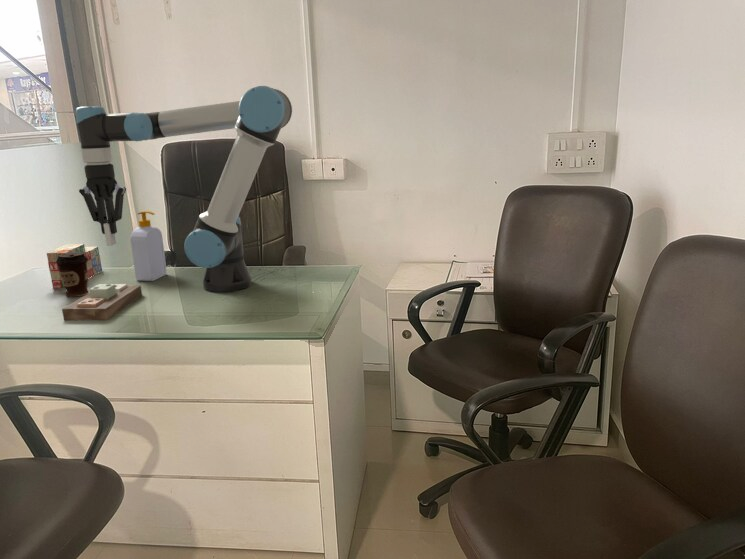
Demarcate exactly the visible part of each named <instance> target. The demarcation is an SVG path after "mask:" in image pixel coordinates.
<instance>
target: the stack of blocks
mask: <svg viewBox="0 0 745 559" xmlns="http://www.w3.org/2000/svg"><path fill="white" fill-rule="evenodd" d="M76 252H82V253H84V255H85V256H86V257H87V258H88V261H87V270H88V278H89V279H91V278H92V277H94V276H95V275H98V274H99V273H98V272H100V271H101V272H103V268H102V262H101V255H100V251H99V246H85V243H72V244H71V243H68V244H67V243H66V244H63V245H62V246H60V247H57V248H55V249H53V250H51V251H48V252H46V257H47V261H48V262H47V266H48V269H49V273H50V278H51V285H52V288H53V289H66V288H65V287H64V286H63V282H62V279H61V276H60V272H59V266H58V265H57V263H56V261H57V259H58V255H60V254H66V253H76ZM101 272H100V273H101ZM97 273H98V274H97ZM93 275H94V276H93ZM91 276H92V277H91ZM90 277H91V278H90Z"/></svg>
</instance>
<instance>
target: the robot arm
mask: <svg viewBox="0 0 745 559" xmlns="http://www.w3.org/2000/svg"><path fill="white" fill-rule="evenodd" d="M241 96H242V97H241V98H240V100H237V101H230V102H222V103H214V104H207V105H206V104H205V105H200V106H199V105H198V106H191V107H186V108H183V107H182V108H177V109H176V108H175V109H171V110H170V109H169V110H163V111H155V112H154V111H152V112H146V113H144V112H123V113H106V110H105V108H104V107H103V106H79V107H76V108H75V118H76V119H75V120H76V123H75V124H76V126H77V132H78V136H79V141H80V147H81V149H80V150H81V156H82V162H83V163H84V164H85V165H84V166H83V167H84V174H85V178H86V182H85V183H86V184H85V186H84V187H82V188H80V189H78V192H79V194H80V195H81V196H82V197H83V200H84V202H85V204H86V207H87V209H88V211H89V213H90V216H91V219H92V220H93V222H97V223H99V224H100V228H101V233H102V235H104V236H105V242H106V246H107V247H108V246H109V247H110V246H114V245H116V244H117V240H116V233H118V228H117V223H116V222H118V221H120V220H122V218H123V208H124V196H125V193H126V191H127V188H126V186H121V185H119V184H118V182H117V180H116V177H115V176H116V173H115V169H114V168H115V167H114V164H113V163H112V162H113V155H112V149H111V142H142V141H148V140H158V139H163V138H169V137H176V136H178V137H179V136H184V135H186V136H187V135H193V134H194V135H195V134H202V133H209V132H218V131H225V130H233V129H235V130H236V132H237V136H236V137H235V141H234V142H233V145H232V148H231V150H230V153H229V155H228V158H227V161H226V163H225V165H224V167H223V170H222V173H221V175H220V178H219V181H218V183H217V185H216V188H215V191H214V192H213V196H212V198H211V200H210V203H209V204H208V205H209V206H208V208H207V210H205V211H204V212H202V213H200V214H199V215H198V218H197V220H196V223H195V225H194V227H193V230H192V231H190V233H189V234H188V235H187V236H186V238H185V240H184V244H183V245H184V246H183V248H184V253H185V254H186V256H187V258H188V260H189V261H190V262H191V263H192V264H194V265H195V266H196V267H200V268H204V269H205V270H204V276H203V279H202V280H203V281H202V285H203V289H204V290H206V291H209V292H215V293H219V292H220V293H223V292H224V293H227V292H235V290H236V291H239V289H240V290H243V288H244V289H246V288H249V287H250V286H251V285H252V277H251V273H250V272H249V270H248V267H247V265H246V263H245V258H244V256H245V255H244V245H243V244H244V243H243V233H242V232H243V231H242V228H243V226H242V222H241V217H240V216H239V215H240V213H241V211H242V208H243V207H244V206H243V205H244V204H245V201H246V199H247V196H248V194H249V191H250V189H251V187H252V184H253V182H254V180H255V177H256V175H257V172H258V170H259V168H260V165H261V163H262V160H263V158H264V155H265V153H266V151H267V149H268V148H269V147H271V146H274V145H275V143H276V141H277V139H278V136H279V135H280V134H279V133H280V131H281V130H282V129H283V128H284V127H285V126H287V125H288V124H289V122H290V120H291V118H292V116H293V115H292V114H293V105H292V102H291V101H290V98H289V97H288V96H287V95H286V94H285V93H284V92H283V91H281V90H280V89H277V88H273V87H270V86H267V85H259V86H255V87H252V88H249V89H248V90H247V91H246V92H245V93H244V94H243V95H241ZM114 192H115V198H114ZM91 193H92V194H93V195H92V194H91ZM114 199H115V200H114ZM250 284H251V285H250ZM249 285H250V286H249ZM245 287H246V288H245Z"/></svg>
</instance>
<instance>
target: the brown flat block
mask: <svg viewBox="0 0 745 559" xmlns="http://www.w3.org/2000/svg"><path fill="white" fill-rule="evenodd" d="M142 296H143V292H142V285H141V284H140V285H139V284H136V285H135V284H133V285H132V284H131V285H129V284H127V288H126V289H124V290H123V291H121V292H116V295H114V296H113V297H111V298H109V299H104V301H105V302H104V303H102V304H101V305H99V306H98V307H77V304H78V303H80V302H81V301H83V300H85V299H87V298H91V297H90V292H89V294H86V295H83V296H82V297H79V298H78V299H76V300H75V301H74V302H71V303H70V304H67V305H65V306H64V307H62V308H61V311H62V317H63V321H90V320H91V321H96V320H97V321H107V320H109V319H110V318H112V317H113V316H115V315H116V314H118V313H119V312H120V311H122V310H123V309H125V308H126V307H128V306H129V305H131V304H132V303H133V302H135V301H136V300H137V299H139V298H140V297H142Z"/></svg>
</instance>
